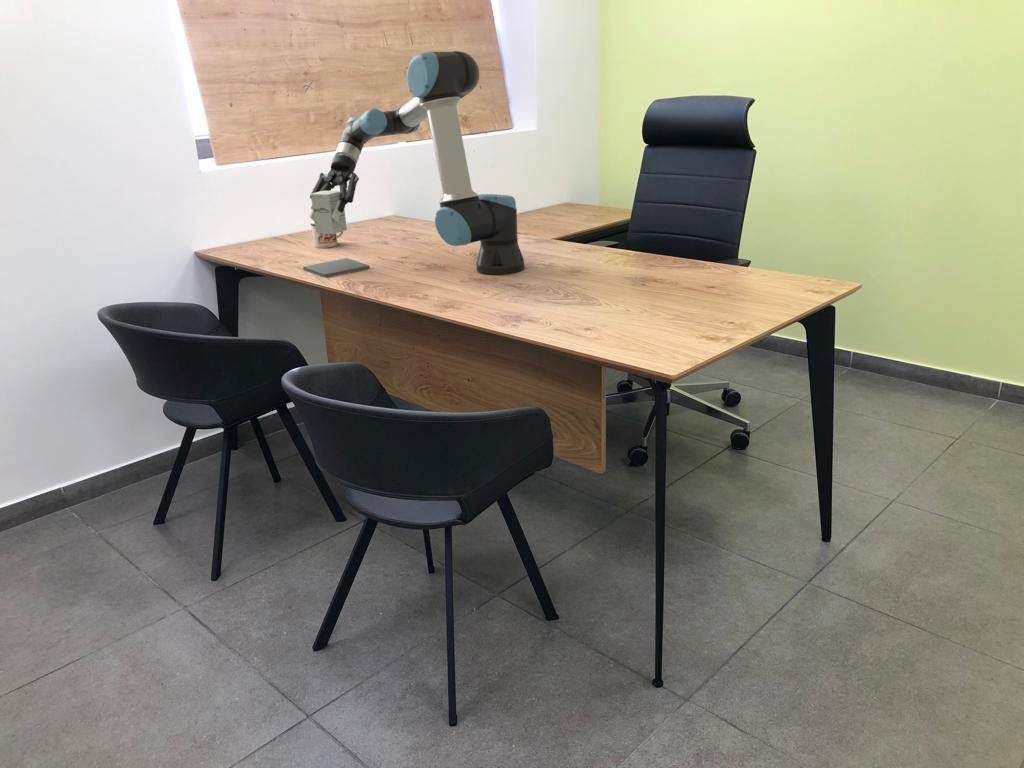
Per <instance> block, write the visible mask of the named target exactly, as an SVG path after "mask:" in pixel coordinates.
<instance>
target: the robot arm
mask: <svg viewBox="0 0 1024 768" xmlns="http://www.w3.org/2000/svg"><path fill="white" fill-rule="evenodd" d="M480 76H481V75H480V68H479V65H478V63H477V61H476V60H475V58H474V57H472V55H470V54H469V53H467V52H464V51H459V50H454V51H427V52H420V53H418V54H416V55H415V56H414V57H413V58H412V59H411V61H410V62H409V65H408V68H407V72H406V84H407V88H408V90H409V93H411V95H412V96H413V97H412V98H411V99H410V100H408V101H407V102H406V103H404V104H403V105H402V106H400V107H399V108H397V109H396V110H386V111H382V110H380V109H378V108H369V109H368V110H366V111H364V112H363V113H362V114H361V115H360V116H351V117H350V118H348V119H347V122H346V124H345V125H344V128H343V132H342V134H341V136H340V140H339V142H338V144H337V147H336V149H335V153H334V156H333V157H332V160H331V161H332V162H331V163H330V170H329V172H327V173H323V172H320V173H319V176H318V180H317V182H316V183H315V186H314V188H313V189H312V191H311V193H310V195H309V199H311V194H312V193H316V192H320V191H332V190H333V189H335V187H336V186H337V187H339V191H341V194H340V200H341V201H340V200H338V201H337V203H336V206H335V209H334V212H333V214H332V218H333V220H334V221H335V222H338V220H339V217H340V214H341V212H343V211H344V210H345V208H346V206H347V204H349V203H350V204H352V203H353V202H354V197H355V193H356V192H355V191H356V189H357V188H356V187H357V184H358V181H359V180H360V178H359V176H358V174H357V173H356V172H355V170H356V168H357V163H358V161H359V158H360V155H361V154H362V150H363V149H364V148H363V147H364V146H365V144H366V143H368V142H370V140H372V139H373V138H377V137H386V136H387V137H388V136H394V135H395V136H397V135H405V134H407V135H408V134H411V133H415V132H417V131H418V130H419V127H420V125H421V123H422V122H424V121H425V120H426V119H427V120H428V122H429V123H428V124H429V129H430V134H431V139H432V144H433V149H434V154H435V155H434V156H435V159H436V164H437V169H438V176H439V179H440V185H441V191H442V197H441V199H440V200H439V206H440V207H439V209H438V210H437V211H436V212H435V217H434V224H435V229H436V231H437V234H438V235H439V236H440V238H441V239H442V241H444V242H445V243H446V244H447V245H450V246H454V247H457V246H466V245H469V244H472V243H477V242H480V247H479V251H478V255H477V260H476V264H475V267H476V272H478V273H480V274H484V275H507V274H508V275H509V274H515V273H518V272H521V271H523V270H524V269H525V260H524V258H523V257H524V256H523V254H522V252H521V251H522V250H521V248H520V245H519V241H518V239H519V237H518V215H517V214H518V213H517V210H518V208H517V205H516V203H517V202H516V199H515V197H514V196H512V195H507V194H498V193H497V194H492V193H491V194H490V193H489V194H488V193H486V194H485V193H483V194H482V193H481V194H478V193H477V192H475V191H474V189H473V188H472V187H473V186H472V182H471V177H470V173H469V166H468V160H467V156H466V155H467V154H466V152H465V145H464V140H463V134H462V131H461V124H460V119H459V114H458V108H457V105H458V103H459V102H460V100H461V99H463V98H465V97H466V96H467V95H469V94H470V93H471V92H473V90H475V89H476V87H477V85H478V83H479V81H480ZM310 207H311V212H310V214H309V218H310V219H311V220H312V221H314V215H313V207H312V206H310Z"/></svg>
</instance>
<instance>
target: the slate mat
mask: <svg viewBox="0 0 1024 768" xmlns="http://www.w3.org/2000/svg"><path fill="white" fill-rule="evenodd" d="M368 268H369V269H370V265H369V264H367V263H366V264H365V263H363V262H360V261H357V260H353V259H351V258H348V257H345V258H340V259H336V260H331V261H330V260H329V261H326V262H320V263H314V264H311V265H310V264H309V265H305V266H303V268H302V269H303V270H304V271H306V272H309V273H311V274H314V275H316V274H317V275H316V276H319V275H320V276H319V277H322V276H323V277H322V278H324V277H326V278H330V277H329V276H331V277H334V275H335V276H340V275H344V273H345V274H348V272H350V273H354V272H353V271H355V272H358V270H360V271H364V270H368ZM339 274H340V275H339Z"/></svg>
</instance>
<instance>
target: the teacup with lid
mask: <svg viewBox="0 0 1024 768" xmlns="http://www.w3.org/2000/svg"><path fill="white" fill-rule="evenodd" d="M310 226H311V232H312V240H313V246H314V247H315V248H318V249H326V248H327V249H329V248H332V247H335V246H338V238H340V237H342V236H343V234H344V232H345V231H342V232H339V233H338V235H337V233H335V234H328V233H316V229H315V222H314V221H313V220H312V221H310Z"/></svg>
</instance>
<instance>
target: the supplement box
mask: <svg viewBox="0 0 1024 768" xmlns="http://www.w3.org/2000/svg"><path fill="white" fill-rule="evenodd" d="M311 193H312V192H311ZM311 193H310V195H311V198H310V200H311V207H313V215H314V222H315V229H316V233H328V234H335V233H336V234H340V233H341V232H342V231H344V232H345V231H347V230H348V229H347V220H346V211H345V209H344V211H343V212H341V214H340V217H339V220H338V222H335V221H334V220H333V218H332V214H333V212H334V209H335V206H336V203H337V201H338V200H340V194H341V191H340V190H330V191H320V192H316V193H312V194H311ZM340 201H341V200H340Z"/></svg>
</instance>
